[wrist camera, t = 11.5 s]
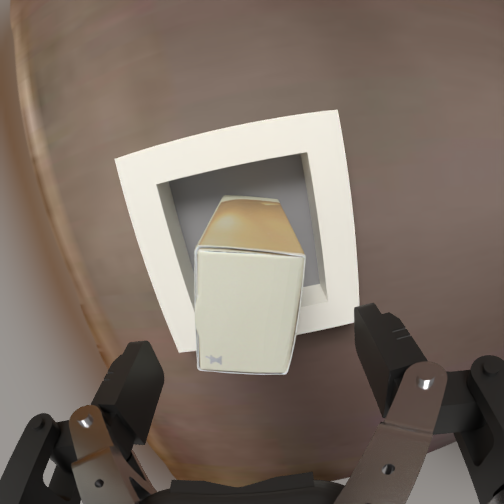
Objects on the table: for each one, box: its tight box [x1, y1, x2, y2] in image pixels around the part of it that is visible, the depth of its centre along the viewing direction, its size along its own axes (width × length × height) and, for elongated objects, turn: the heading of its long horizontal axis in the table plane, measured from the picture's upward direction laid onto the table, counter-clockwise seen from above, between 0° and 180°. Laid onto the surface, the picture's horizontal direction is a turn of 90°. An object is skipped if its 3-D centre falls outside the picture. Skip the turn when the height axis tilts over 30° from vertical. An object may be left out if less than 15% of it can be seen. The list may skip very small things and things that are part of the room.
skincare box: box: [194, 195, 306, 375], centre depth 18 cm, size 6×4×12 cm
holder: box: [115, 110, 359, 353], centre depth 22 cm, size 15×16×4 cm
